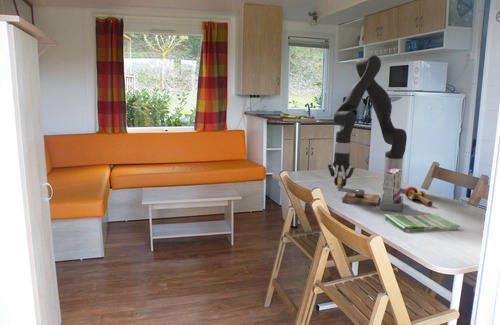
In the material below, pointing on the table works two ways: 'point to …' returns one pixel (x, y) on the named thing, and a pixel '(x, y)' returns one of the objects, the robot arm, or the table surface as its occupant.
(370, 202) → the crank base
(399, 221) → the dish towel
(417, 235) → the table surface
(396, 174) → the candy bar box
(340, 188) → the crank
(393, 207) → the tray
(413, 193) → the kendama
